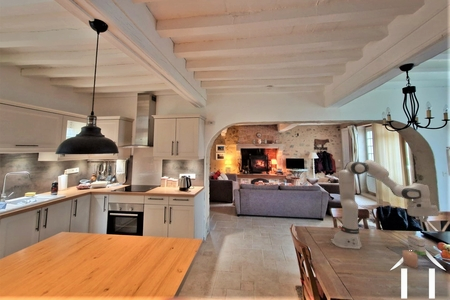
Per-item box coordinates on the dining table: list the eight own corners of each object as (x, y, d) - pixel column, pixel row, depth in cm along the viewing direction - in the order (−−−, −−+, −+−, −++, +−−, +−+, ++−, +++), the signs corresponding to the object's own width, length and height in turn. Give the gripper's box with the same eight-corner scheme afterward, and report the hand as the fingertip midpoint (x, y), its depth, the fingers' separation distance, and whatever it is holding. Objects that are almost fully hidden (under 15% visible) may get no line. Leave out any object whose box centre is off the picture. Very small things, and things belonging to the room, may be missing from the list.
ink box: (426, 255, 131) (425, 239, 132) (419, 255, 131) (418, 239, 132) (414, 249, 139) (413, 234, 140) (408, 249, 140) (406, 234, 140)
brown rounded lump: (410, 267, 117) (409, 255, 118) (400, 261, 124) (399, 250, 125) (421, 267, 117) (420, 255, 117) (410, 261, 124) (409, 250, 124)
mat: (405, 257, 128) (405, 257, 128) (386, 247, 144) (386, 246, 144) (424, 258, 127) (424, 257, 127) (403, 247, 143) (403, 246, 143)
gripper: (431, 202, 140) (433, 220, 139) (404, 202, 141) (406, 220, 140) (441, 204, 133) (442, 223, 133) (412, 204, 134) (414, 223, 134)
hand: (423, 221), depth 136 cm, fingers closed
